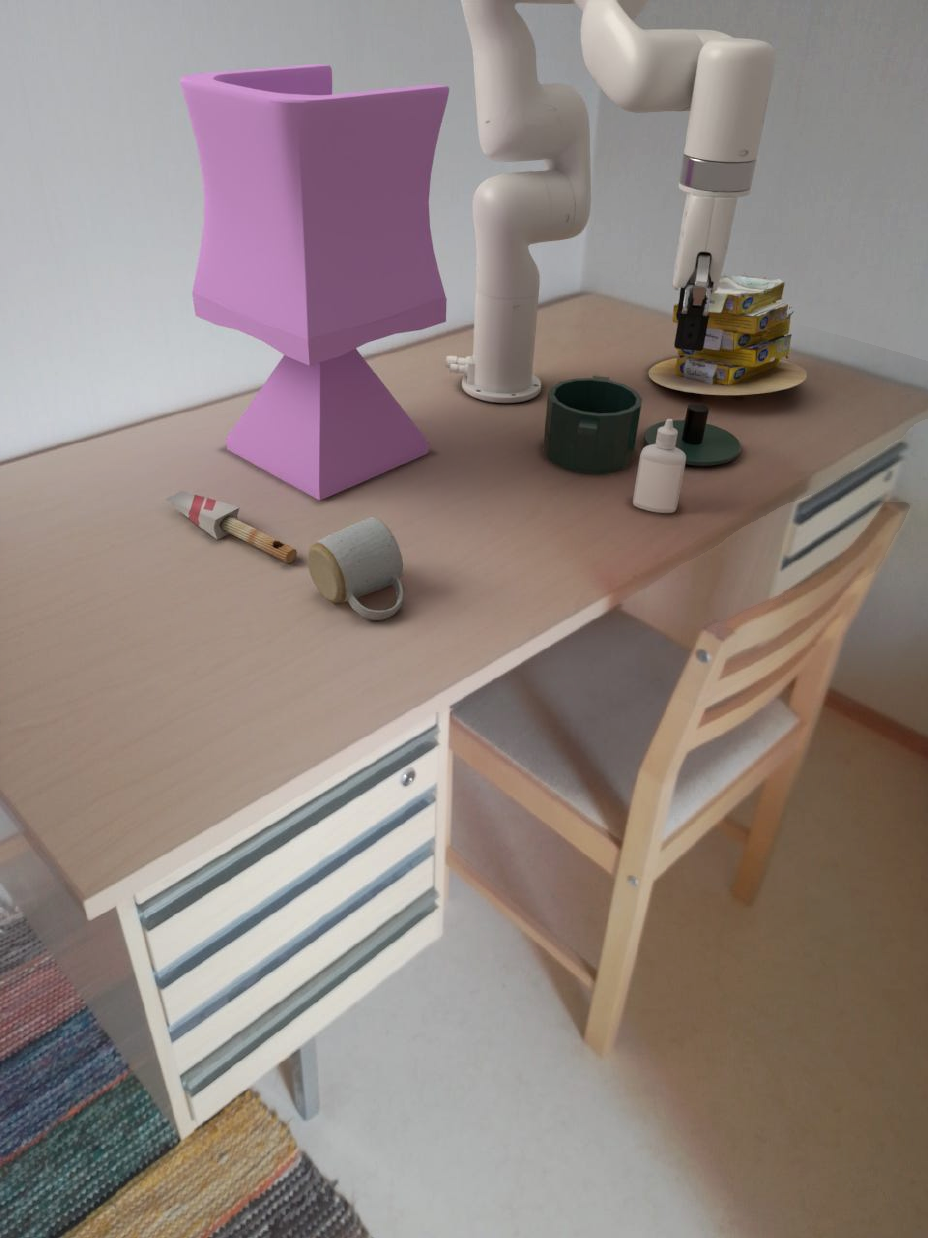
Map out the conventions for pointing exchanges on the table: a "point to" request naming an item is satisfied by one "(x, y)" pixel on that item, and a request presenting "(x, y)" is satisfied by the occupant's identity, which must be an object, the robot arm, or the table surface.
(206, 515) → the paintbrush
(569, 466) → the pot
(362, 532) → the ceramic mug
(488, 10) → the robot arm
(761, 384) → the boxes on wooden plate
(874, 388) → the table surface
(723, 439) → the lid
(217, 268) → the pink goblet vase
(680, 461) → the eye dropper bottle
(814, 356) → the table surface
